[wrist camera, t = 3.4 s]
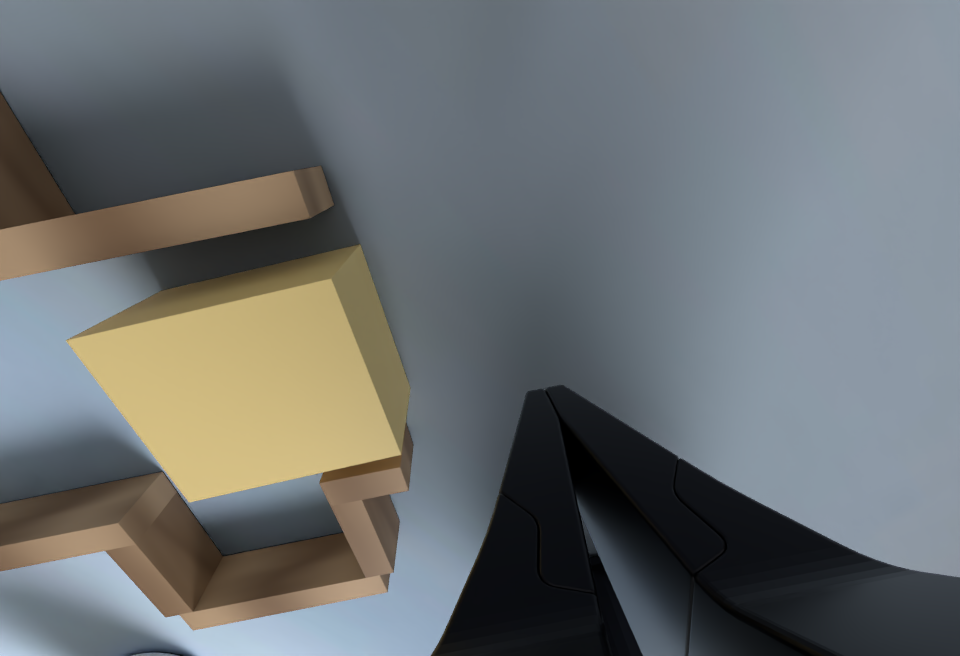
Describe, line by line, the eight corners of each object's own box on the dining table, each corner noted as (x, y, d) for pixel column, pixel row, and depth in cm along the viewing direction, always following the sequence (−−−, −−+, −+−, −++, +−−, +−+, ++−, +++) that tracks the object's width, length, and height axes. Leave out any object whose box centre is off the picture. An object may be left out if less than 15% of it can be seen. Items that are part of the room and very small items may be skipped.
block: (361, 242, 14) (331, 278, 10) (410, 385, 16) (401, 454, 13) (165, 288, 14) (65, 340, 10) (245, 422, 16) (188, 502, 13)
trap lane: (242, -73, 10) (181, -139, 8) (441, 530, 20) (441, 581, 17) (-535, 86, 10) (-826, 68, 8) (46, 608, 20) (-6, 669, 17)
